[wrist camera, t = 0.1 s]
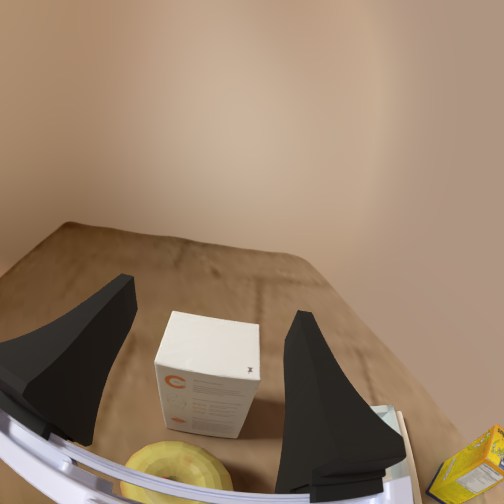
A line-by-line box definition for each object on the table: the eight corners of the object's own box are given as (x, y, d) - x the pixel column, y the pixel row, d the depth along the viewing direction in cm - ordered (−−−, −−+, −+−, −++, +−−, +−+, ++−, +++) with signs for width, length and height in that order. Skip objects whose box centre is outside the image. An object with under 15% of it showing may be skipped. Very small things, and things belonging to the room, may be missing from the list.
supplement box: (463, 478, 17) (520, 440, 11) (448, 509, 13) (512, 476, 8) (441, 462, 20) (496, 421, 15) (424, 493, 17) (487, 457, 12)
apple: (123, 455, 19) (104, 429, 15) (213, 448, 23) (219, 421, 19) (142, 536, 11) (123, 539, 8) (241, 525, 15) (259, 523, 11)
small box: (239, 395, 30) (261, 323, 24) (237, 439, 24) (263, 381, 18) (174, 384, 29) (171, 308, 23) (164, 428, 24) (152, 363, 18)
